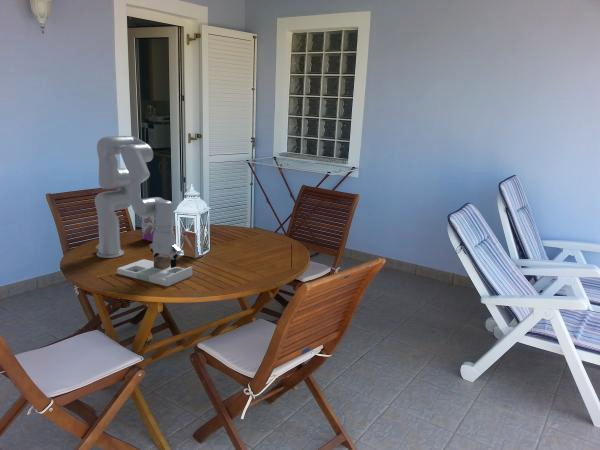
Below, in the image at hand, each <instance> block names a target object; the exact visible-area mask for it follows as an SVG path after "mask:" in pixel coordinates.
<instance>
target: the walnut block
mask: <svg viewBox="0 0 600 450" xmlns="http://www.w3.org/2000/svg"><path fill="white" fill-rule="evenodd" d="M152 258H153V261H154V268H158V269H162V270H163V269H165V268H168V267H170V265H171V262H170V260H171V257H170V255H163V254H160V255H158V256H155V257H154V256H153V257H152Z"/></svg>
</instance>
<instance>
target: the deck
mask: <svg viewBox="0 0 600 450" xmlns="http://www.w3.org/2000/svg"><path fill="white" fill-rule="evenodd" d="M116 272H117V274H118V275H121V276H124V277H129V278H133V279H136V280H137V279H138V280H139V281H140V280H141V281H144V282H149V283H152V284H157V285H160V286H163V287H170V286H172V285H175V284H176V283H179V282H182V281H184V280H185V279H188V278H190V277H192V276H193V266H188V267H186V268H184V267H178V266H176V267H174V268H171V264H170V267H168V268H165V269H163V270H162V269H158V268H154V260H148V259H144V258H143V259H140V260H137V261H134V262H131V263H129V264H126V265H123V266H120V267H118V268H117V271H116Z"/></svg>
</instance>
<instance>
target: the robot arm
mask: <svg viewBox="0 0 600 450" xmlns="http://www.w3.org/2000/svg"><path fill="white" fill-rule="evenodd" d="M96 151H97V157H98V185H99V187H100V188H101V189H103V190H107V191H103V192H100V193H98V194H96V196H95V198H94V206H95V209H96V214H97V223H98V224H97V226H98V238H99V241H98V244H97V245H96V246H95V248H96V249H98V251H97V252H96V256H97V257H98V258H103V259H114V258H118V257H121V256H123V255H124V254H125V251H124V250H123V249H121V237H120V236H121V235H120V234H121V233H120V232H121V231H120V219H119V216H118V215H117V213H115V211H119V210H124V209H127V208H130V207H131V208H132V210H133V211H134V213H135V215H137V216H138V217H141V216H148V215H154V214H155V225H154V226H155V228H156V230H155V231H154V234H153V242H152V243H150V244H149V245H148V246H149V248H150V251H151V253H152V256H153V257H155V256H158V255H161V254H163V255H167V256H170V265H171V268H174V267H178V266H177V259H178V258H179V257H180V255H181V252H182V251H181V249H180V248H179V247H177V244H176V235H175V231H174V212H173V211H174V208H173V207H174V205H173V204H174V203H173V201H171V200H167V199H165V198H162V197H159V196H155V197H146V198H142V196H141V194H140V189H139V188H140V185H141V184H142V183H143V182H145V181H147V180H148V179H149V178H150V176H151V173H150V171H149V168H148V166H147V163H149V162H151V161H152V160H153V159H154V151H153V148H152V147H151V146H150V145H149V144H148V143H146V141H143V140H142V139H140V138H137V137H135V136H134V135H108V136H104V137H101V138H100V139H99V140H98V141H97V144H96ZM116 155H117V156H118V155H121V157H122V161H123V163H124V165H125V168H124V167H123V168H119V160H118V158H117V156H116ZM108 190H109V191H108Z"/></svg>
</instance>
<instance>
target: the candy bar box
mask: <svg viewBox="0 0 600 450" xmlns="http://www.w3.org/2000/svg"><path fill="white" fill-rule="evenodd" d="M140 217H141V218H140V219H141V237H142V238H141V239H142V240H145V241H148V242H152V243H153V234H154V231H155V230H156V228H155V226H154V225H155V214H154V215H148V216H140Z"/></svg>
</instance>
